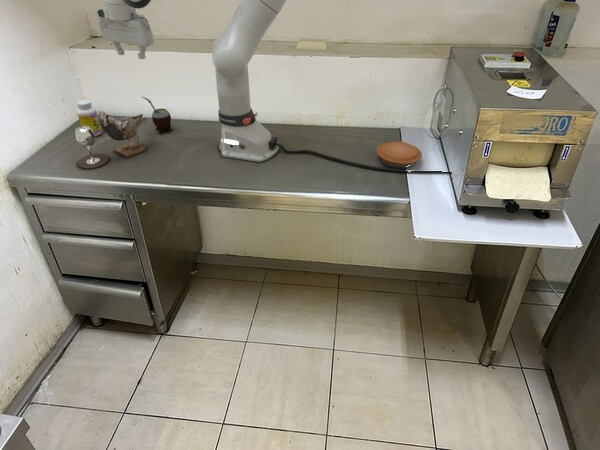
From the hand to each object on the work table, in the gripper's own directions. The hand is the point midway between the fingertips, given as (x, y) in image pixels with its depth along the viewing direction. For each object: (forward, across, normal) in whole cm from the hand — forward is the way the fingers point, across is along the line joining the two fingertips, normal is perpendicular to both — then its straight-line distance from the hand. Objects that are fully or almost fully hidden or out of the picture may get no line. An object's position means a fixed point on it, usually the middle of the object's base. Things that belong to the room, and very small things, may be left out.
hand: (131, 56), depth 147 cm
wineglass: (+31, +6, +22) cm, 38 cm away
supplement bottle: (+31, +24, +6) cm, 40 cm away
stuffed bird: (+31, +1, +10) cm, 33 cm away
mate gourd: (+31, +2, -9) cm, 33 cm away
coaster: (+31, +6, +22) cm, 38 cm away
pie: (+31, -88, -29) cm, 98 cm away
